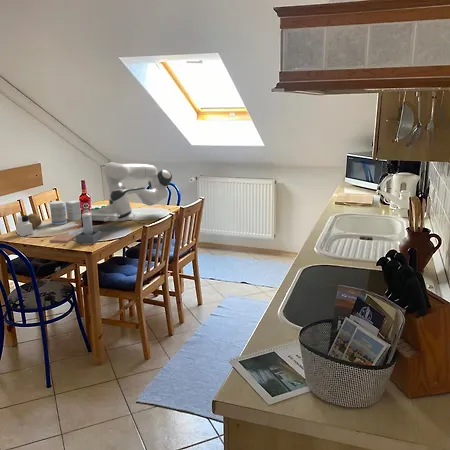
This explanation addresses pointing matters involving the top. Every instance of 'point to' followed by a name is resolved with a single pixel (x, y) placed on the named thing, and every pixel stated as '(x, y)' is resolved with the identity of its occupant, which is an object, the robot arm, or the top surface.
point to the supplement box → (73, 210)
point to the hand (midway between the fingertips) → (96, 219)
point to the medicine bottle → (24, 226)
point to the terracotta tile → (63, 238)
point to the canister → (87, 224)
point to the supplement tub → (58, 212)
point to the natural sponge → (34, 220)
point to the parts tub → (88, 237)
